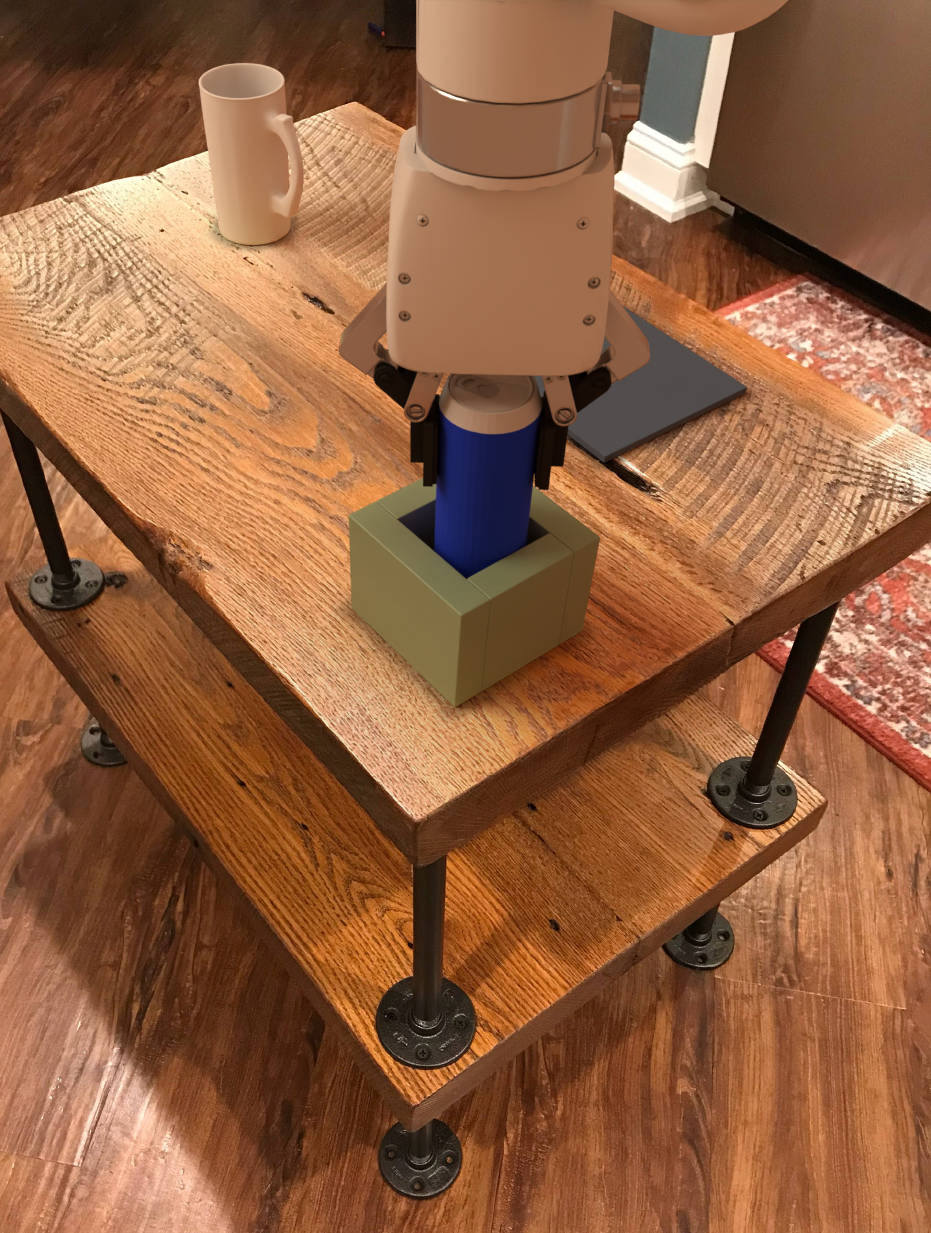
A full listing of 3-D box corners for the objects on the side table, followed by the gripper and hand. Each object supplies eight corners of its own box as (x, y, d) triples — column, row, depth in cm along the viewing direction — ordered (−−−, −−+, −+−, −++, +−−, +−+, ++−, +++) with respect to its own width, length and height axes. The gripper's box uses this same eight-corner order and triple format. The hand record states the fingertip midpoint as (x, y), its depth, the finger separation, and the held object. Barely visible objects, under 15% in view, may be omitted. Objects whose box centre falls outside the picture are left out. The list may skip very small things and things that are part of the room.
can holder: (475, 541, 74) (483, 447, 68) (582, 630, 69) (600, 537, 63) (351, 608, 70) (347, 514, 64) (454, 708, 65) (461, 615, 59)
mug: (199, 226, 100) (180, 79, 90) (259, 200, 102) (246, 55, 93) (275, 270, 95) (263, 120, 86) (335, 242, 98) (330, 94, 89)
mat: (745, 393, 84) (747, 386, 84) (604, 463, 79) (605, 456, 79) (582, 286, 94) (583, 279, 93) (446, 342, 88) (446, 335, 88)
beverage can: (531, 585, 69) (558, 370, 57) (500, 643, 66) (522, 428, 54) (452, 561, 70) (463, 345, 59) (418, 616, 67) (422, 401, 56)
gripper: (709, 78, 49) (642, 433, 63) (309, 73, 50) (331, 424, 64) (731, 159, 44) (654, 523, 58) (288, 152, 45) (317, 513, 59)
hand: (485, 469), depth 61 cm, fingers closed on beverage can, 5 cm apart
